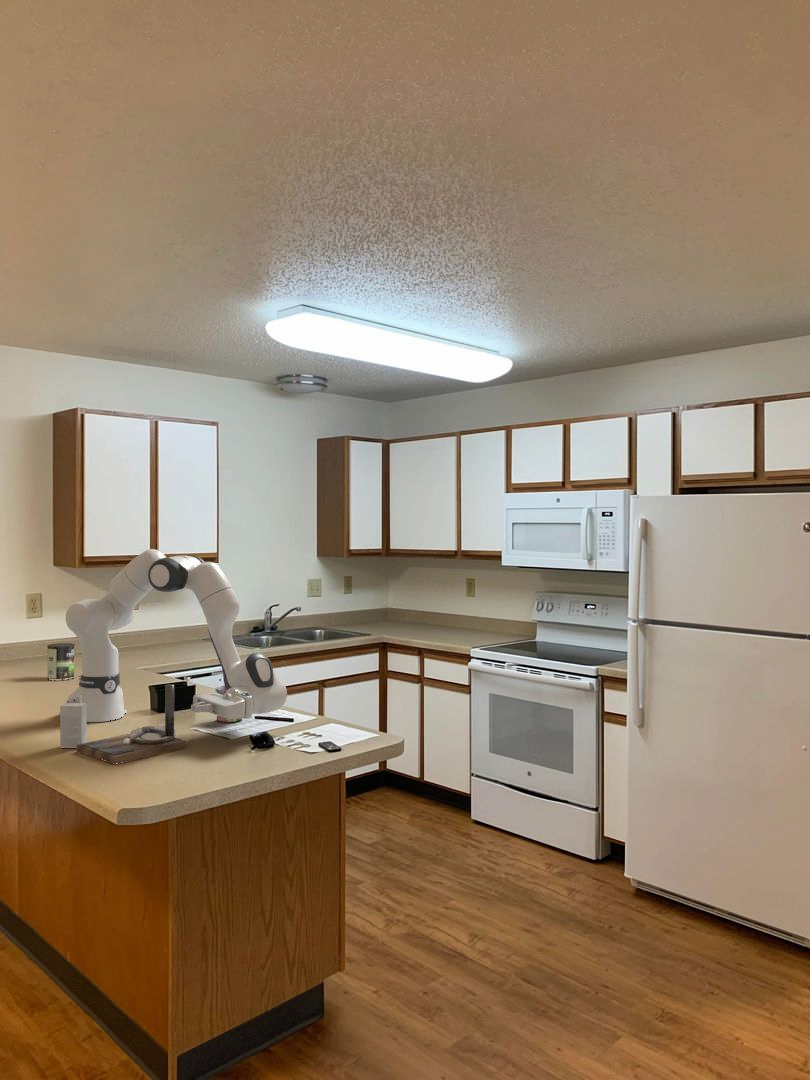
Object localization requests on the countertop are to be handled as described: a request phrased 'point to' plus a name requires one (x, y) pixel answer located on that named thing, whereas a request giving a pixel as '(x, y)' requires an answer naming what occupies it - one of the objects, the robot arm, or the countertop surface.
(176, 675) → the countertop surface
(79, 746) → the stand
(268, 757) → the countertop surface
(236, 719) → the mug
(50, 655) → the coffee can
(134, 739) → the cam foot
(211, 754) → the countertop surface
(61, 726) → the skincare box
